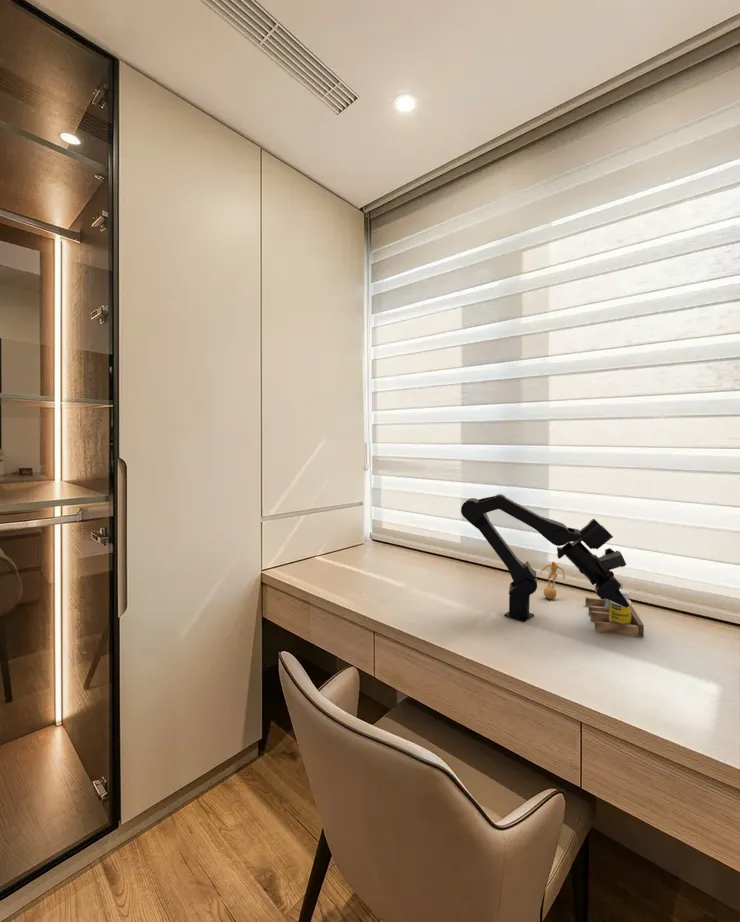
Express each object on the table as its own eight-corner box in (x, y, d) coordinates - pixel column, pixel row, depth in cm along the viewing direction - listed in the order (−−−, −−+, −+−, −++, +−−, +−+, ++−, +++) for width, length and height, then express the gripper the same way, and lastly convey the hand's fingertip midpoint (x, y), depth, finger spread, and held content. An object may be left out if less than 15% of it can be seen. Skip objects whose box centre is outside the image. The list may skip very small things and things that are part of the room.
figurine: (535, 596, 154) (535, 561, 154) (543, 592, 159) (544, 557, 158) (559, 603, 148) (560, 566, 148) (567, 599, 152) (568, 562, 152)
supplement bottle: (608, 627, 128) (609, 592, 128) (608, 620, 133) (610, 586, 133) (630, 631, 126) (632, 595, 125) (630, 624, 130) (631, 589, 130)
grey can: (618, 617, 137) (619, 587, 137) (601, 612, 141) (602, 583, 140) (623, 612, 141) (624, 583, 140) (607, 608, 144) (607, 579, 144)
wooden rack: (595, 631, 127) (595, 619, 127) (585, 604, 147) (585, 594, 147) (643, 637, 124) (643, 625, 124) (626, 609, 144) (627, 598, 143)
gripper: (613, 549, 120) (659, 596, 118) (601, 534, 138) (642, 575, 135) (578, 576, 123) (623, 622, 121) (571, 558, 141) (610, 598, 138)
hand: (625, 602), depth 129 cm, fingers closed on supplement bottle, 5 cm apart
